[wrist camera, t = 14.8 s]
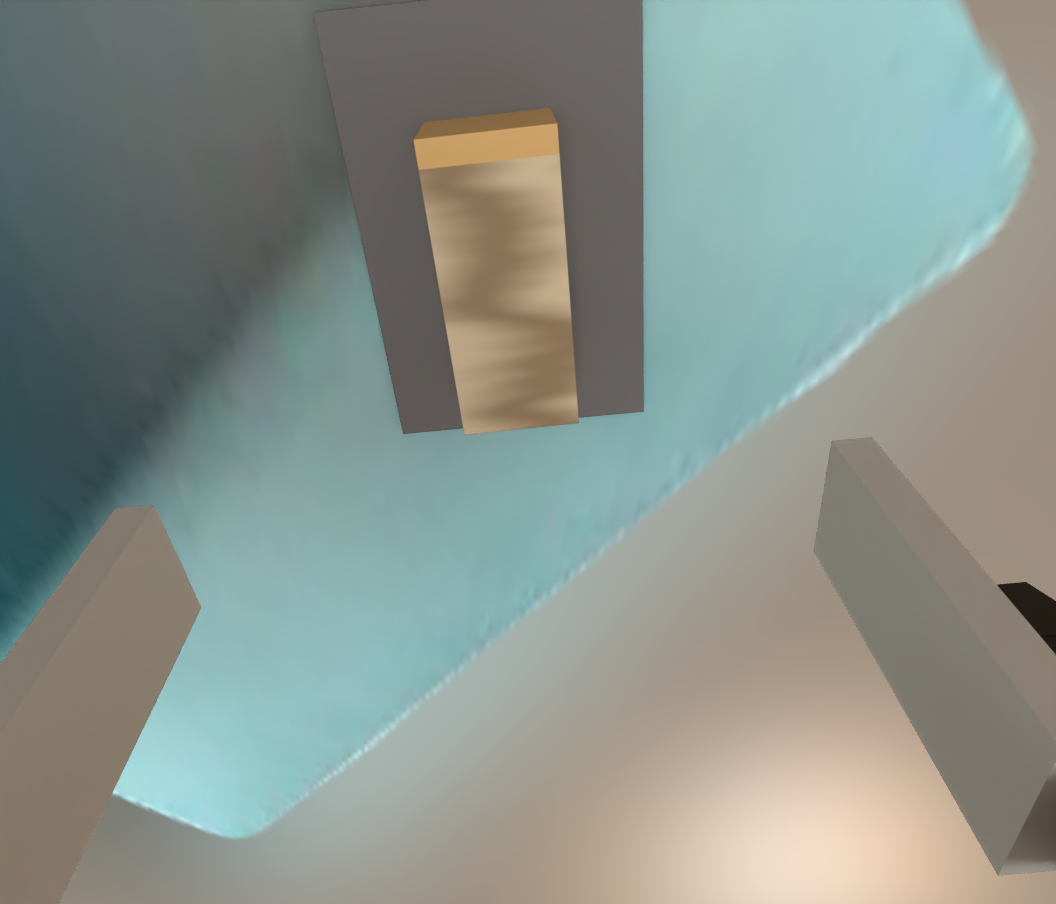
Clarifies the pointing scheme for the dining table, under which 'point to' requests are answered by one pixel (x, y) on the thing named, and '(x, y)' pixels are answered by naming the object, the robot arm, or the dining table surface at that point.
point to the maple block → (501, 266)
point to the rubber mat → (484, 89)
